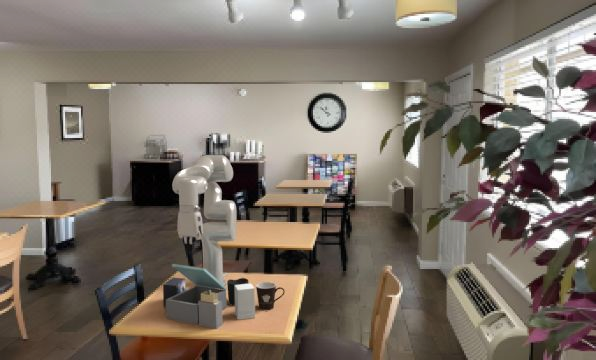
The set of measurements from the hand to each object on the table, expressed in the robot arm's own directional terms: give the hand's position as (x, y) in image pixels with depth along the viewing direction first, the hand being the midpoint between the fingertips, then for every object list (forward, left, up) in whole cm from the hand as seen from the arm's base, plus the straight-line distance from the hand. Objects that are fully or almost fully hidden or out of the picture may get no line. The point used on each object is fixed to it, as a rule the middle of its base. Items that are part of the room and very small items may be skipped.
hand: (190, 252), depth 204 cm
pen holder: (-21, +9, -27) cm, 36 cm away
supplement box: (-9, +20, -27) cm, 35 cm away
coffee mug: (-21, +25, -27) cm, 43 cm away
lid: (-5, 0, -12) cm, 14 cm away
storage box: (-3, +4, -27) cm, 28 cm away
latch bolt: (+5, +12, -17) cm, 22 cm away
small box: (-8, -16, -27) cm, 33 cm away
